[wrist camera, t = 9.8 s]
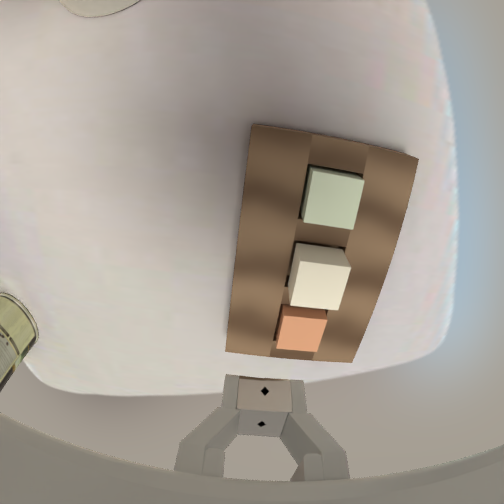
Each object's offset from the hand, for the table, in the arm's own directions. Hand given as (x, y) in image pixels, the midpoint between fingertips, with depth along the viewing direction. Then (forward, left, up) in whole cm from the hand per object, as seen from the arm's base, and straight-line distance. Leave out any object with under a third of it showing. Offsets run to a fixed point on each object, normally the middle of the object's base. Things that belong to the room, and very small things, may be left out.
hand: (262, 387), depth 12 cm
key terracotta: (+11, +5, -20) cm, 24 cm away
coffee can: (+22, -37, -22) cm, 48 cm away
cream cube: (+4, +5, -18) cm, 20 cm away
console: (+4, +5, -21) cm, 22 cm away
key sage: (-3, +5, -20) cm, 21 cm away
